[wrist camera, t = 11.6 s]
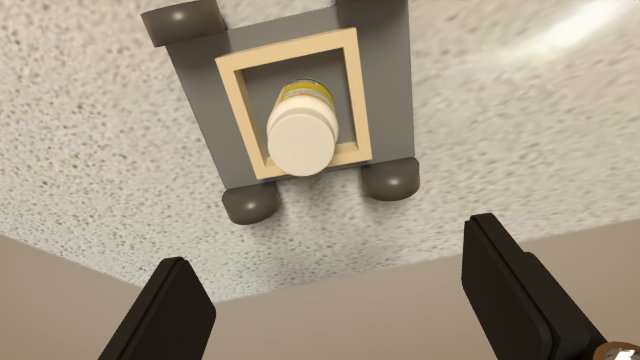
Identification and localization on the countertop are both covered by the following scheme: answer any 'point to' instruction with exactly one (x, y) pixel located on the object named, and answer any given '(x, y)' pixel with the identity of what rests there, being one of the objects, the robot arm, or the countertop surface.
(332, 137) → the supplement bottle
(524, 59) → the countertop surface
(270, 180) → the toy chassis
